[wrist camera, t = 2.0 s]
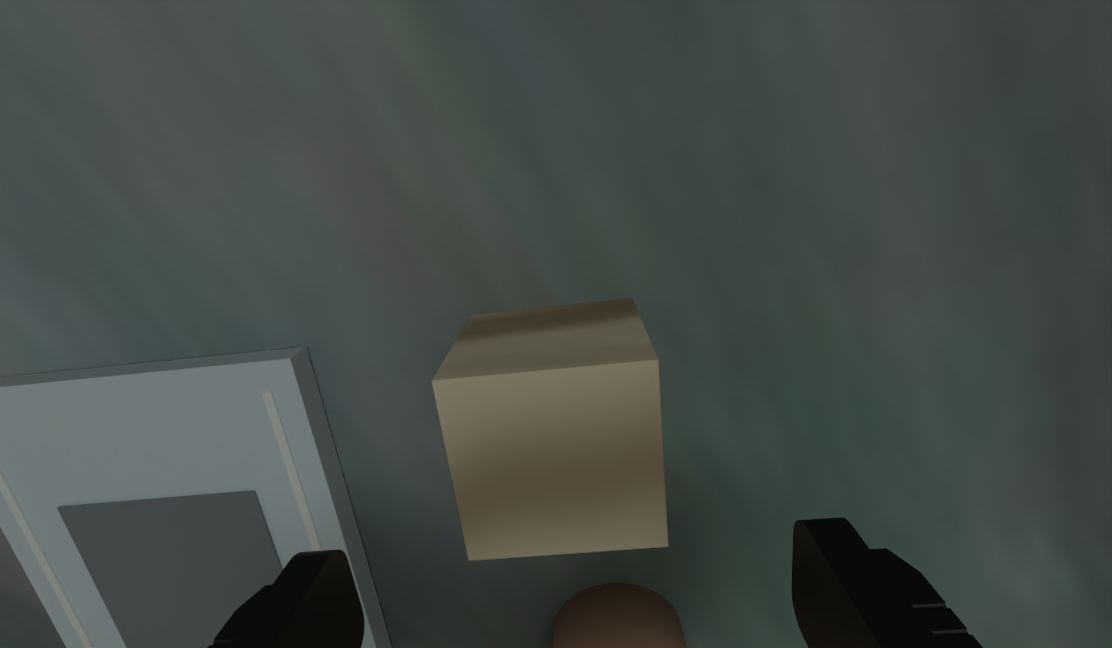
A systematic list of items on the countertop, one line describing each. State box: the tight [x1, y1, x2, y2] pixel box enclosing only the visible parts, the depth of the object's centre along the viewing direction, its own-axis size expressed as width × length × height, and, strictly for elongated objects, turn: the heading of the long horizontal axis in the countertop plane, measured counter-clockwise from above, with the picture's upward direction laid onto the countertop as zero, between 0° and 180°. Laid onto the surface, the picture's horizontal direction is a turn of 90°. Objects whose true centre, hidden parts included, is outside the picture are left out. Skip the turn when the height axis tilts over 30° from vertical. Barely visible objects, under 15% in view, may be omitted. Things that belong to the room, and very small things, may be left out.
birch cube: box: [432, 298, 668, 561], centre depth 14 cm, size 5×5×5 cm
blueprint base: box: [0, 347, 392, 648], centre depth 19 cm, size 16×12×1 cm
